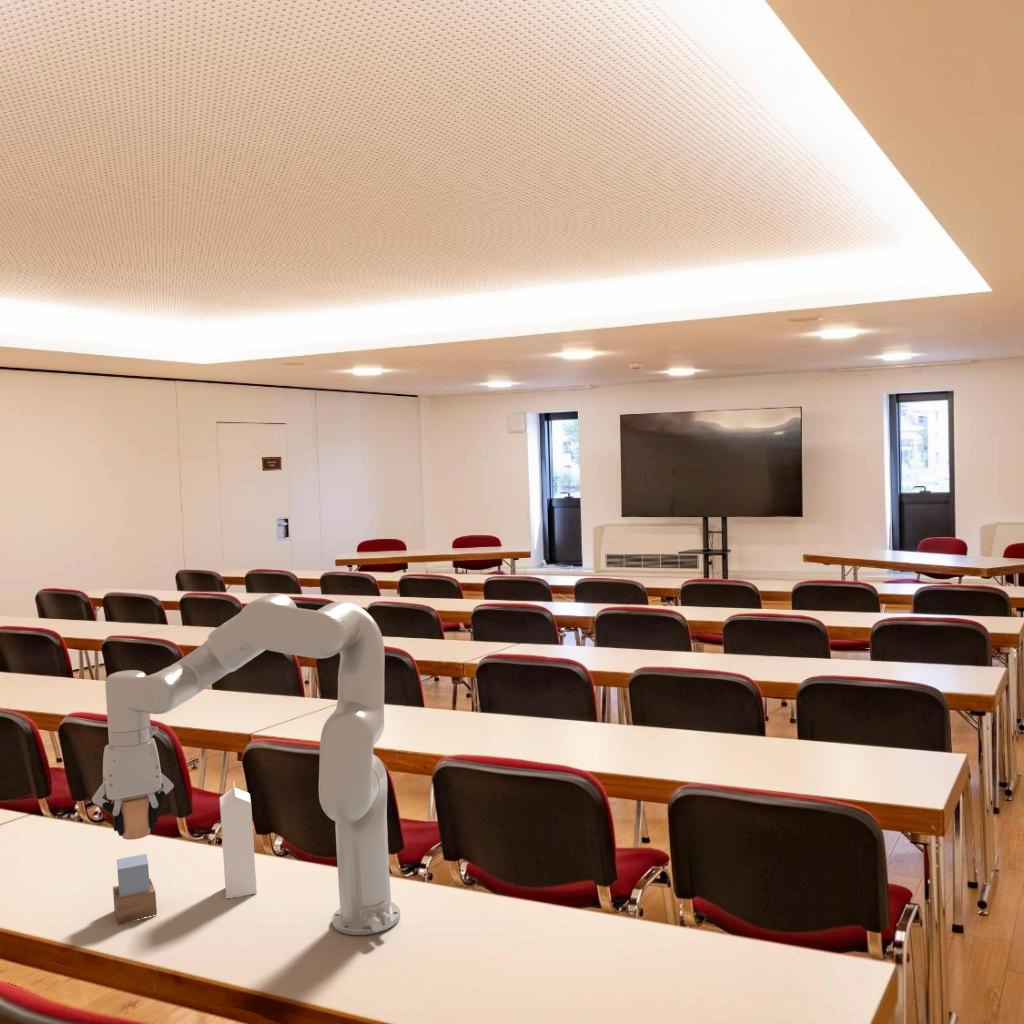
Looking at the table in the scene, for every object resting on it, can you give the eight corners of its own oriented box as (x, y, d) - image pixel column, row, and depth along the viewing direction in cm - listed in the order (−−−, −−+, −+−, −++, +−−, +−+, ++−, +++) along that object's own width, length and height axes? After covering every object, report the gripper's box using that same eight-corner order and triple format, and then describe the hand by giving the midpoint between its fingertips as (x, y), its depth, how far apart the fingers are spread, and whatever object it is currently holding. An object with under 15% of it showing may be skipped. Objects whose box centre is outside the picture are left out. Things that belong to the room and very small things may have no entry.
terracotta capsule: (152, 835, 189) (150, 799, 189) (124, 841, 187) (122, 805, 186) (147, 827, 193) (145, 792, 193) (120, 833, 191) (118, 797, 191)
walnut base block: (157, 916, 193) (155, 891, 193) (118, 925, 190) (116, 900, 189) (151, 902, 199) (150, 878, 199) (114, 911, 196) (112, 886, 196)
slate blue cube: (150, 891, 193) (148, 863, 192) (119, 897, 190) (117, 869, 190) (148, 880, 198) (146, 853, 197) (118, 886, 196) (116, 859, 195)
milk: (255, 882, 206) (249, 777, 205) (256, 894, 200) (250, 786, 199) (224, 887, 204) (218, 781, 203) (225, 899, 199) (219, 791, 197)
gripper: (172, 724, 196) (178, 815, 197) (79, 740, 188) (85, 834, 189) (180, 733, 190) (186, 826, 191) (84, 749, 181) (90, 847, 183)
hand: (135, 829), depth 190 cm, fingers closed on terracotta capsule, 5 cm apart
